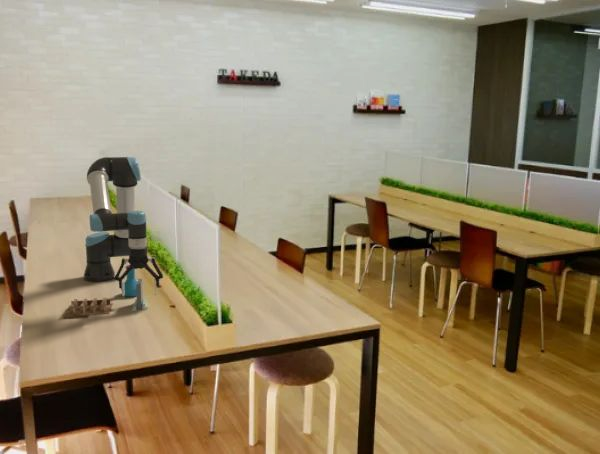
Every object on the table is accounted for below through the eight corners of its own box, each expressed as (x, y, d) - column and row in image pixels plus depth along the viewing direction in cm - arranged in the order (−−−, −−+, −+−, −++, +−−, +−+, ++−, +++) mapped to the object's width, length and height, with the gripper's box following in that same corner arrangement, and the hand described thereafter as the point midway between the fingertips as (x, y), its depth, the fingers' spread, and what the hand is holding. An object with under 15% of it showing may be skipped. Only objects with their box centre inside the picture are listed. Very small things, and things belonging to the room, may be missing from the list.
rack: (69, 308, 240) (69, 298, 239) (112, 305, 244) (112, 296, 243) (63, 318, 228) (62, 308, 227) (109, 316, 232) (108, 306, 231)
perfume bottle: (121, 300, 251) (119, 268, 249) (121, 294, 260) (120, 263, 257) (141, 299, 254) (140, 267, 251) (142, 293, 263) (140, 262, 260)
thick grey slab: (138, 302, 246) (137, 278, 244) (143, 302, 246) (142, 278, 244) (137, 310, 237) (136, 285, 234) (141, 309, 237) (140, 285, 235)
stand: (134, 304, 246) (133, 299, 246) (148, 303, 248) (147, 298, 247) (132, 312, 236) (131, 307, 235) (146, 312, 237) (146, 306, 237)
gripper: (106, 250, 230) (108, 298, 234) (167, 248, 235) (168, 295, 239) (108, 246, 237) (110, 293, 242) (167, 244, 243) (169, 290, 247)
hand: (139, 294), depth 240 cm, fingers open, 13 cm apart
